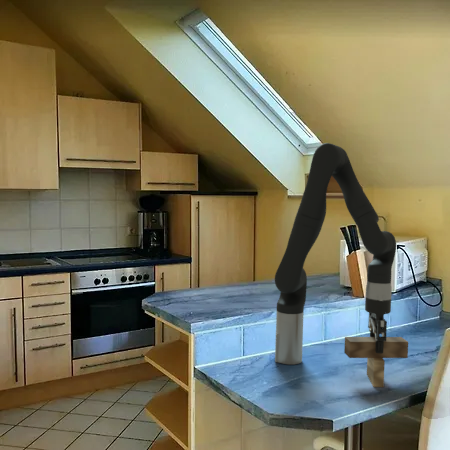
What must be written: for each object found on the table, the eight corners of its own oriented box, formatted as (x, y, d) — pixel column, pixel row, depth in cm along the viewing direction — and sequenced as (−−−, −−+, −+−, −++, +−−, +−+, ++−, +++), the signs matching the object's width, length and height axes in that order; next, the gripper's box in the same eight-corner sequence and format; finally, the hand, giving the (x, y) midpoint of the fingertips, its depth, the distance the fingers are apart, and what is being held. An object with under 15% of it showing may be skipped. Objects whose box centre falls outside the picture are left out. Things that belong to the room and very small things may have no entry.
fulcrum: (373, 386, 144) (374, 360, 143) (366, 374, 154) (367, 349, 153) (383, 387, 143) (384, 361, 143) (376, 375, 153) (377, 350, 153)
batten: (349, 358, 145) (350, 341, 145) (344, 352, 150) (344, 336, 150) (407, 358, 146) (408, 341, 146) (400, 352, 151) (401, 337, 151)
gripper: (361, 291, 154) (359, 341, 155) (370, 300, 140) (368, 355, 141) (385, 292, 154) (383, 342, 155) (396, 302, 140) (394, 356, 141)
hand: (376, 348), depth 148 cm, fingers open, 8 cm apart
